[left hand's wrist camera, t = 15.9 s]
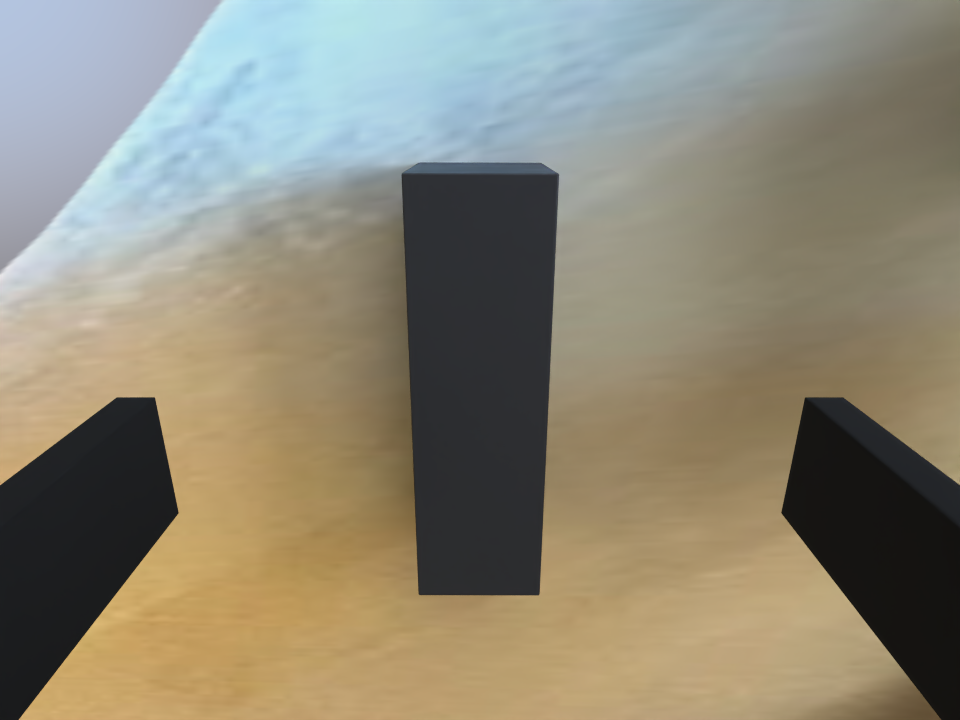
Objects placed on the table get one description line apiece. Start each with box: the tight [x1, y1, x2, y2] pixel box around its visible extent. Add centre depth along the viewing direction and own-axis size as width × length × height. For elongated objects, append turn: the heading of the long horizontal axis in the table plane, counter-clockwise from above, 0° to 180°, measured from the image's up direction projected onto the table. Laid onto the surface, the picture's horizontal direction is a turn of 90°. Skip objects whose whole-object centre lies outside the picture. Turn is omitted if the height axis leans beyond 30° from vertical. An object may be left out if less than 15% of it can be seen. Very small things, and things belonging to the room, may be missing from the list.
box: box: [402, 163, 559, 595], centre depth 37 cm, size 25×7×9 cm, turn 0°
